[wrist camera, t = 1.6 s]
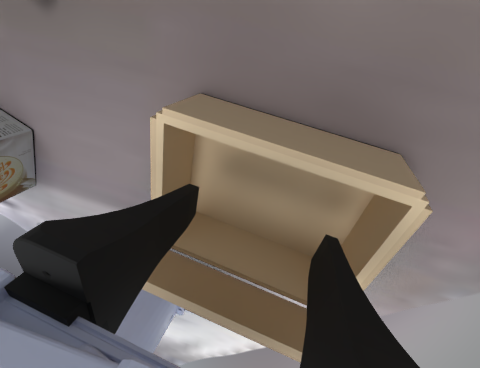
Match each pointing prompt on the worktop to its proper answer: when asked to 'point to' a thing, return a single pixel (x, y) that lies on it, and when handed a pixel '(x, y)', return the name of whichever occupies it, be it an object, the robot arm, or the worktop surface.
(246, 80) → the worktop surface
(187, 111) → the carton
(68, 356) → the robot arm
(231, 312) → the lid flap
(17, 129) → the coffee box
